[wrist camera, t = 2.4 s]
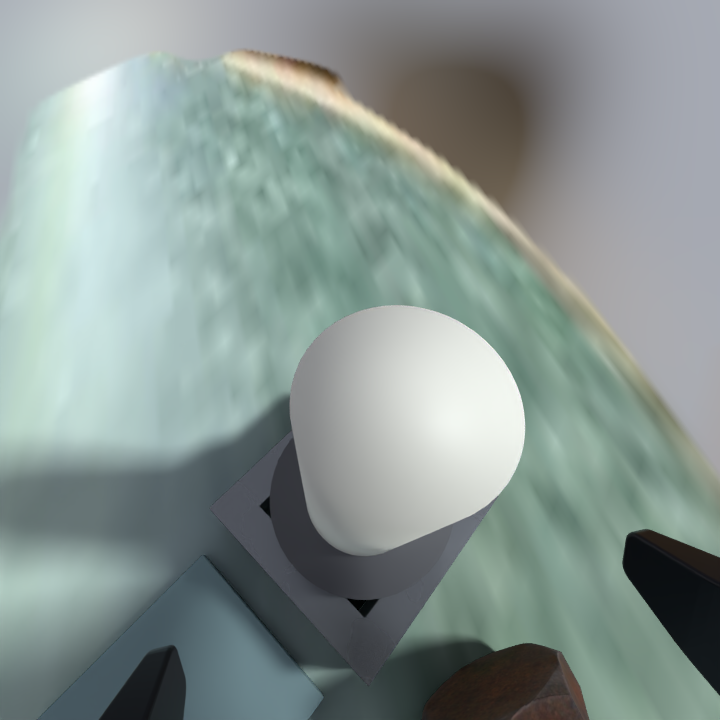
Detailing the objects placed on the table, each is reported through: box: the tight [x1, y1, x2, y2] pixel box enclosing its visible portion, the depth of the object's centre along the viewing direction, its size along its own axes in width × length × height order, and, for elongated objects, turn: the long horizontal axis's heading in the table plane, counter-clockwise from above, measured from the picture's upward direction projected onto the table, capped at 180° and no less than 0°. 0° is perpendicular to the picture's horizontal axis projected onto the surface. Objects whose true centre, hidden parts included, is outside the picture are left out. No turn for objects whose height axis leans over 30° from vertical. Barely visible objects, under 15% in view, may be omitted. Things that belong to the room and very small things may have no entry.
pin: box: [270, 305, 525, 600], centre depth 12 cm, size 6×6×13 cm
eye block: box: [209, 430, 498, 687], centre depth 17 cm, size 8×8×3 cm
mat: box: [37, 555, 324, 720], centre depth 14 cm, size 7×7×1 cm
